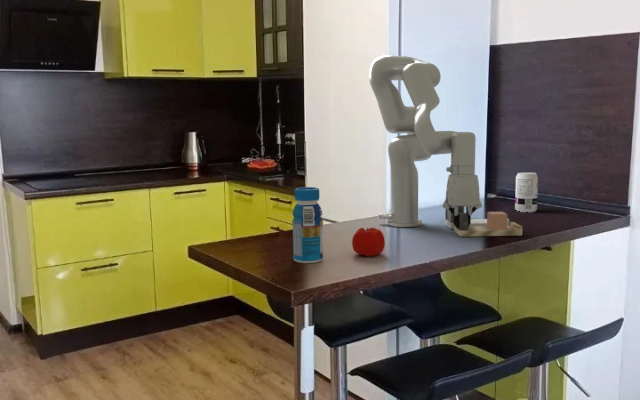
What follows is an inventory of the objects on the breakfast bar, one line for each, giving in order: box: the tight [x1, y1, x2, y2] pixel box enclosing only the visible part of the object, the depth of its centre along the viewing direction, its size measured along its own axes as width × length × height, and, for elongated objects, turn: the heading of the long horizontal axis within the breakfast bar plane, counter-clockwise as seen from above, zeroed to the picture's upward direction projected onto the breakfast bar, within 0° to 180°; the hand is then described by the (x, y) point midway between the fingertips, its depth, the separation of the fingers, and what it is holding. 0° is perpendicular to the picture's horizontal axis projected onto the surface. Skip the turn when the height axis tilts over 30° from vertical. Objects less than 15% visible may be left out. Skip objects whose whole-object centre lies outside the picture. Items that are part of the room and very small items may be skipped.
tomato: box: [351, 227, 386, 258], centre depth 178 cm, size 9×9×8 cm
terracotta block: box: [486, 211, 508, 230], centre depth 204 cm, size 5×5×5 cm
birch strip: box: [453, 211, 524, 238], centre depth 204 cm, size 20×8×7 cm, turn 92°
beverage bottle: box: [291, 186, 324, 264], centre depth 171 cm, size 8×8×20 cm
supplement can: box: [514, 172, 539, 213], centre depth 247 cm, size 8×8×15 cm
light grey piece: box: [445, 206, 510, 230], centre depth 217 cm, size 20×8×7 cm, turn 92°
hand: (461, 226), depth 204 cm, fingers closed on birch strip, 2 cm apart
